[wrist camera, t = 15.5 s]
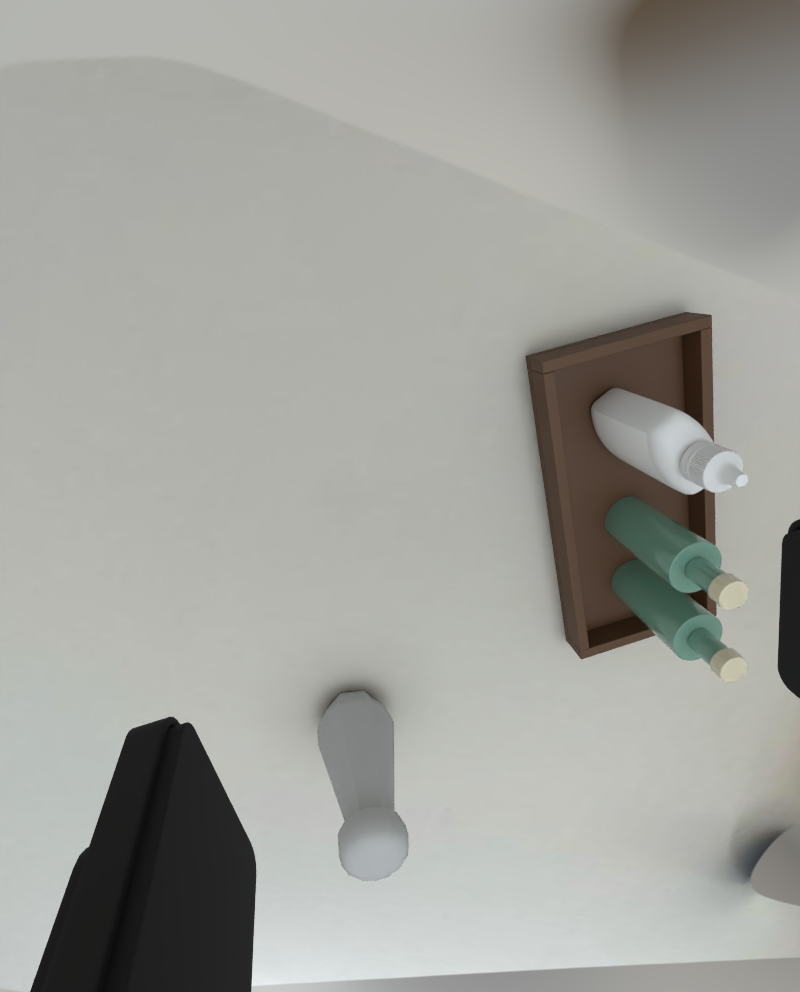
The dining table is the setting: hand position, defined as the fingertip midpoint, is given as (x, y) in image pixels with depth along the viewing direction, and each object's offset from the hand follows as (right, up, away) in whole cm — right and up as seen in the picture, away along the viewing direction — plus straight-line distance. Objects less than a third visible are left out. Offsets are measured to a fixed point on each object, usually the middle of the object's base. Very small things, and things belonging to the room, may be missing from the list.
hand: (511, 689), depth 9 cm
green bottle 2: (+17, -4, +37) cm, 41 cm away
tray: (+15, +3, +35) cm, 38 cm away
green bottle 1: (+15, +1, +35) cm, 38 cm away
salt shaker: (-5, -14, +38) cm, 41 cm away
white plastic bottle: (+14, +8, +32) cm, 36 cm away
